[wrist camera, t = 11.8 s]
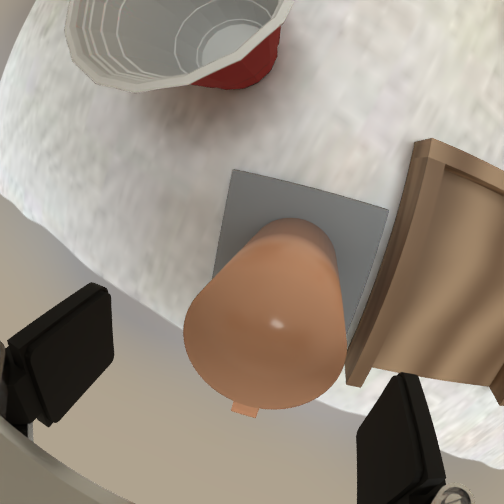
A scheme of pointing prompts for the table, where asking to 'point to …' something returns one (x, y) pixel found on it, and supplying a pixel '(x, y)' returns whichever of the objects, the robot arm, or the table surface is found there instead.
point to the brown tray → (440, 277)
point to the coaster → (310, 209)
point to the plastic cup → (175, 41)
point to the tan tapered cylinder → (271, 320)
